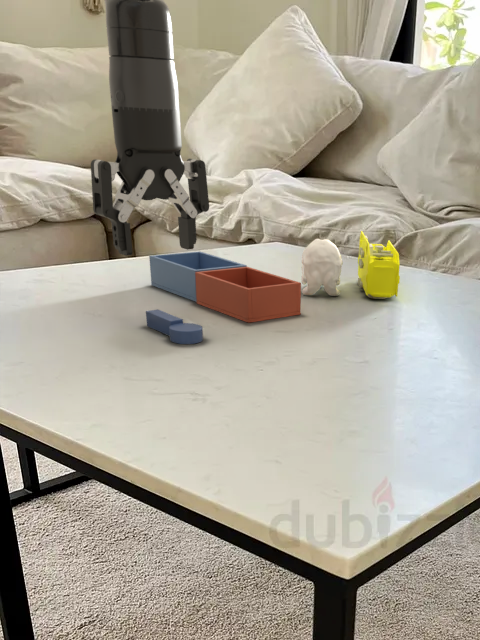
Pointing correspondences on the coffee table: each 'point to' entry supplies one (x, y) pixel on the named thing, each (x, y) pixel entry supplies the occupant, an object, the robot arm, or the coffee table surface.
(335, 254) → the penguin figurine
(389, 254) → the yellow toy chassis
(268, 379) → the coffee table surface
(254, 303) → the red bin
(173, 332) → the blue spoon
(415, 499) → the coffee table surface
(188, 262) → the blue bin
